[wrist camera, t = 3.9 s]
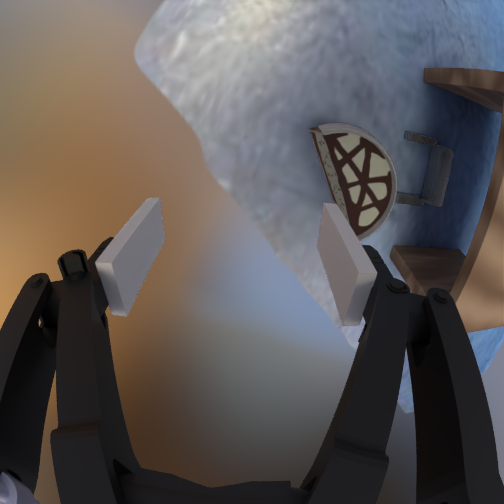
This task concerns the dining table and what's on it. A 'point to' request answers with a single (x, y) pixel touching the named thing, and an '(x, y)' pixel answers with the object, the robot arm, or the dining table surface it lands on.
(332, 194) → the food container
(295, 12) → the dining table surface
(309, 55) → the dining table surface
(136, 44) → the dining table surface
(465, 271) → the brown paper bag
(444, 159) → the gray stone bench
